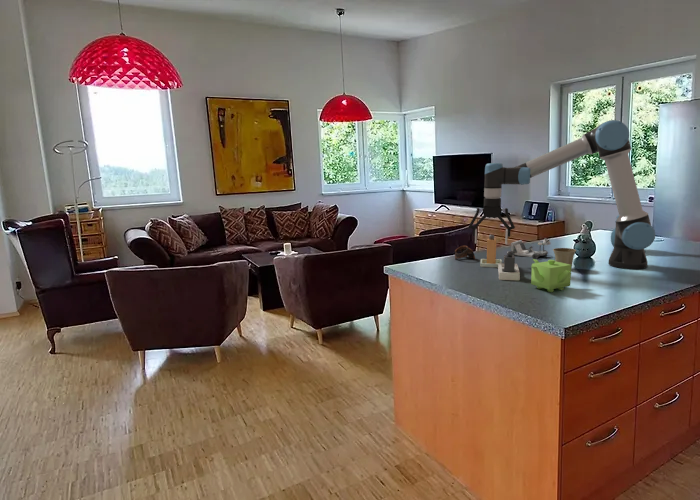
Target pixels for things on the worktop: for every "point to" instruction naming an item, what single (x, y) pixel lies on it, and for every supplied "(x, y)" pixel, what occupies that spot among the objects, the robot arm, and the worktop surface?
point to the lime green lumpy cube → (550, 275)
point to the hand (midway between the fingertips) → (490, 243)
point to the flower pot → (564, 255)
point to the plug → (491, 250)
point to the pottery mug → (464, 252)
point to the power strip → (508, 268)
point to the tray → (484, 264)
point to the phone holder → (520, 249)
